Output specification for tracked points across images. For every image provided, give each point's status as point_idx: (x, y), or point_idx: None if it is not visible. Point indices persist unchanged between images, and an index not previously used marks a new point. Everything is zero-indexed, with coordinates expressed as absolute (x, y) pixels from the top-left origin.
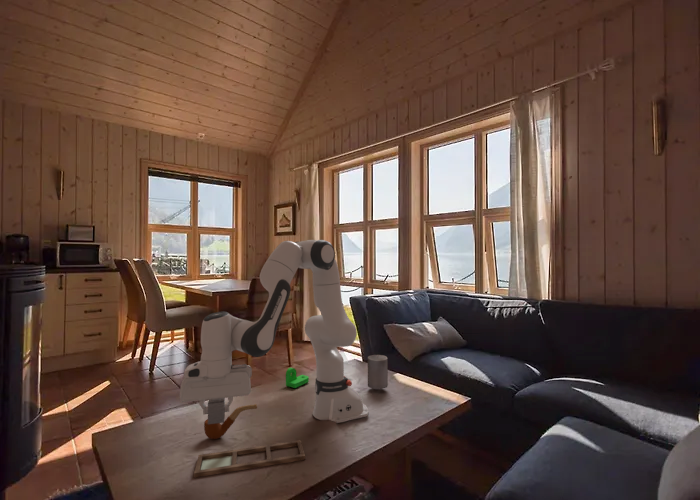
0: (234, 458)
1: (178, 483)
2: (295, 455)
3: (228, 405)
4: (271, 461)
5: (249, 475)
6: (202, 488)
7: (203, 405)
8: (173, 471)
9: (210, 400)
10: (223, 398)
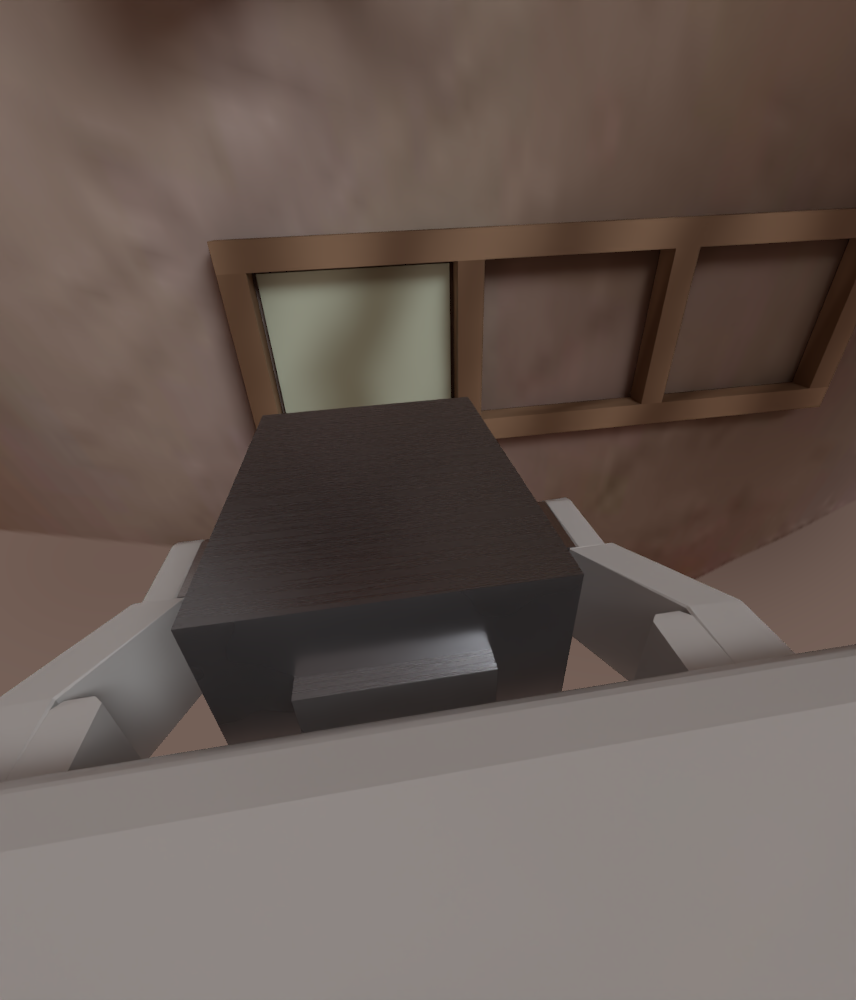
0: (471, 353)
1: (204, 483)
2: (782, 393)
3: (584, 628)
4: (656, 422)
5: (535, 475)
6: None
7: (163, 729)
8: (106, 368)
9: (264, 726)
10: (546, 663)
